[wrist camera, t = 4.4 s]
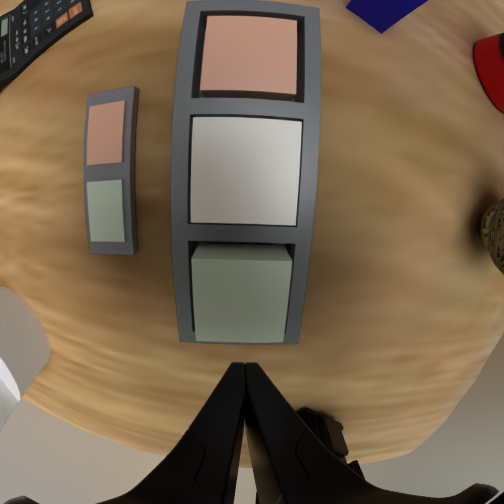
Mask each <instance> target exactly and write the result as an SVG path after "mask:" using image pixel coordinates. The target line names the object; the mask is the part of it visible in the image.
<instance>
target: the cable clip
mask: <svg viewBox="0 0 504 504" xmlns="http://www.w3.org/2000/svg"><path fill="white" fill-rule="evenodd" d="M426 1H428V0H351V1H350V2H349V4H348V5H347V6H346V8H347V9H349V10H350V11H352V12H353V13H354V14H356V15H357V16H359V17H360V18H362V19H363V20H364V21H366V22H367V23H368V24H370V25H371V26H372V27H374V28H375V29H376V30H377V31H379V32H380V33H381V34H382V33H383V32H384V31H386V30H387V29H388V28H390V27H391V26H392V25H394V24H395V23H396V22H398V21H399V20H400V19H402V18H403V17H405V16H406V15H407V14H409V13H410V12H412V11H413V10H415V9H416V8H418V7H419V6H420V5H422V4H423V3H425V2H426Z"/></svg>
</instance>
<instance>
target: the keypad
mask: <svg viewBox="0 0 504 504" xmlns="http://www.w3.org/2000/svg"><path fill="white" fill-rule="evenodd" d="M208 16H254V17H269V18H279V19H288V20H295V21H297V77H296V95H295V96H294V97H293V98H292V100H291V101H279V100H267V99H250V98H204V96H203V95H202V93H201V91H200V85H201V73H202V62H203V52H204V42H205V34H206V25H207V17H208ZM320 116H321V34H320V11H319V8H314V7H309V6H302V5H296V4H289V3H280V2H270V1H257V0H200V1H187V2H186V8H185V14H184V20H183V26H182V33H181V40H180V47H179V55H178V63H177V73H176V83H175V94H174V107H173V124H172V146H171V234H172V257H173V274H174V288H175V300H176V311H177V321H178V330H179V339H180V342H191V343H211V344H298V340H299V334H300V328H301V321H302V315H303V308H304V301H305V294H306V286H307V279H308V271H309V262H310V254H311V245H312V235H313V225H314V215H315V203H316V191H317V177H318V161H319V142H320ZM193 117H241V118H262V119H276V120H288V121H298V122H302V130H301V151H300V169H299V185H298V200H297V213H296V226H295V225H270V224H240V223H196V222H191V155H192V130H193ZM199 243H216V244H254V245H284V247H285V249H286V250H287V252H288V254H289V256H290V258H291V260H292V270H291V279H290V289H289V298H288V307H287V315H286V323H285V331H284V339H283V342H274V343H243V342H208V341H196V334H195V320H194V304H193V285H192V257H193V254H194V252H195V250H196V248H197V246H198V244H199Z"/></svg>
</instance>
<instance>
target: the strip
mask: <svg viewBox="0 0 504 504" xmlns="http://www.w3.org/2000/svg"><path fill="white" fill-rule="evenodd" d="M138 95H139V89H138V88H136V87H135V86H134V87H127V88H121V89H115V90H109V91H104V92H99V93H94V94H90V95H88V100H87V110H86V122H85V139H84V192H85V210H86V223H87V233H88V242H89V250H90V254H115V255H134V254H136V253H137V252H138V243H137V229H136V209H135V140H136V121H137V107H138Z"/></svg>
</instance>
